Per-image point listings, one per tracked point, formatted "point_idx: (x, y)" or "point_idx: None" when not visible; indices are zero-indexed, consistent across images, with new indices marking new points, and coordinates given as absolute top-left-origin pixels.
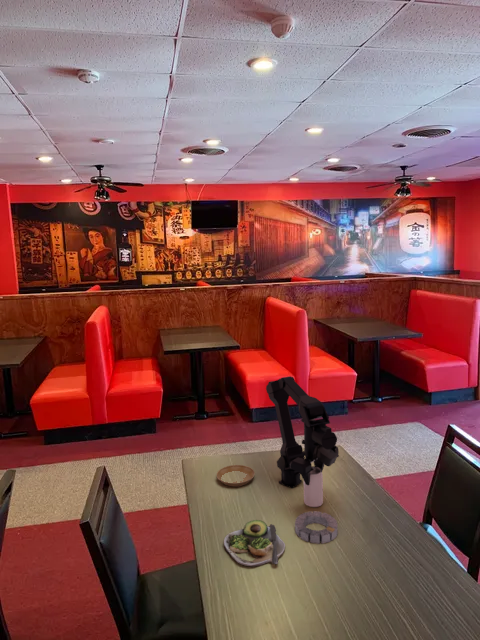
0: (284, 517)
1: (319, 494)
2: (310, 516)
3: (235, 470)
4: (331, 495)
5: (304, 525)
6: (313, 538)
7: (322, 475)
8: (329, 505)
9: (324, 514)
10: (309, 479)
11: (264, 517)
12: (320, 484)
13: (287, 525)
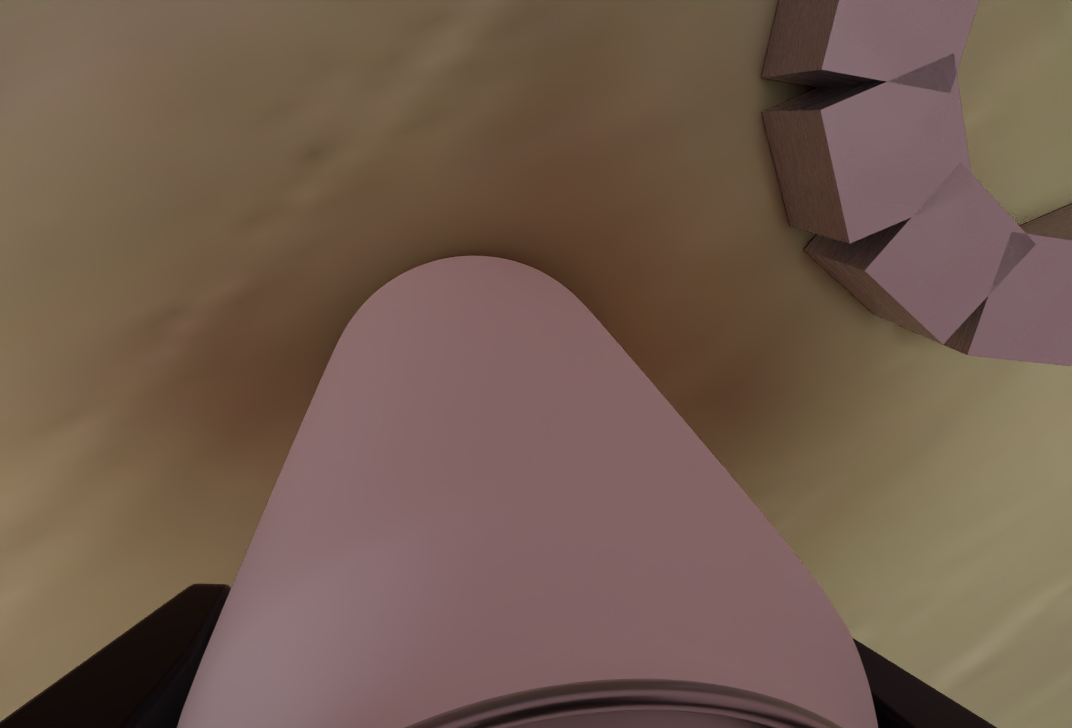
0: (897, 513)
1: (571, 316)
2: (994, 211)
3: None
4: (64, 265)
5: None
6: None
7: (403, 523)
8: (366, 164)
9: (873, 29)
10: (931, 717)
11: (963, 659)
12: (583, 385)
13: (1028, 412)
